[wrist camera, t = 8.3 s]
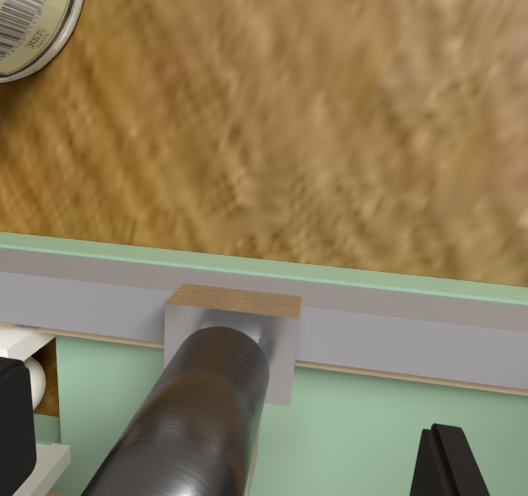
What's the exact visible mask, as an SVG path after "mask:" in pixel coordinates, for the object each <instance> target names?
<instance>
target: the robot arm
mask: <svg viewBox="0 0 528 496" xmlns="http://www.w3.org/2000/svg"><path fill="white" fill-rule="evenodd" d="M36 462H37V452H36V440H35V427H34V415H33V402H32V390H31V377H30V370H29V369H28V368H27V367H25V364H24V362H23V361H22V360H19V359H12V358H6V357H0V496H13V495H14V493H15V492H16V491H17V490H18V489H19V488H20V487H21V485H22V484H23V483H24V482H25V481H26V480H27V479H28V477H29V476H30V475H31V474H32V472H33V470H34V468H35V466H36ZM409 496H490V494H489V491H488V489H487V486H486V484H485V482H484V479H483V477H482V474H481V472H480V470H479V467H478V465H477V462H476V460H475V458H474V455H473V453H472V450H471V448H470V446H469V443H468V441H467V438H466V436H465V434H464V431H463V430H462V428H461V427H457V426H450V425H443V424H437V423H434V424H432V426H431V430H430V429H423V430H422V433H421V438H420V443H419V448H418V453H417V458H416V464H415V469H414V474H413V479H412V484H411V489H410V495H409Z"/></svg>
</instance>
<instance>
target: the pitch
mask: <svg viewBox="0 0 528 496" xmlns="http://www.w3.org/2000/svg"><path fill="white" fill-rule="evenodd" d="M183 283H186V284H195V285H204V286H212V287H221V288H230V289H239V290H248V291H257V292H265V293H274V294H283V295H292V296H301V297H302V299H301V310H300V320H299V330H298V340H297V350H296V360H295V370H294V379H293V387H292V395H291V403H290V407H289V406H282V405H275V404H268V403H264V406H263V411H262V416H261V420H260V425H259V437H258V450H257V460H256V465H255V470H254V474H253V479H252V484H251V489H250V494H249V496H409V495H410V489H411V484H412V479H413V474H414V469H415V464H416V458H417V453H418V448H419V443H420V438H421V433H422V430H423V429H430V430H431V426H432V424H434V423H437V424H443V425H450V426H457V427H461V428H462V430H463V431H464V434H465V436H466V438H467V441H468V443H469V446H470V448H471V450H472V453H473V455H474V458H475V460H476V462H477V465H478V467H479V470H480V472H481V474H482V477H483V479H484V482H485V484H486V486H487V489H488V491H489V494H490V496H528V287H519V286H509V285H500V284H490V283H481V282H471V281H462V280H453V279H443V278H434V277H424V276H415V275H405V274H396V273H386V272H377V271H367V270H358V269H349V268H339V267H330V266H320V265H311V264H301V263H292V262H282V261H273V260H263V259H254V258H244V257H235V256H226V255H216V254H207V253H197V252H188V251H178V250H169V249H159V248H150V247H140V246H131V245H122V244H112V243H103V242H93V241H84V240H74V239H65V238H55V237H46V236H36V235H27V234H17V233H8V232H0V357H6V358H12V359H19V360H22V361H24V360H26V359H27V358H28V357H30V356H31V355H32V354H33V353H35V352H36V351H37V350H39V349H40V348H41V347H43V346H44V345H45V344H47V343H48V342H49V341H50V340H52V339H53V338H54V337H56V355H57V373H58V392H59V410H60V417H55V416H48V415H41V414H35V413H33V415H34V427H35V440H36V452H37V462H36V466H35V468H34V470H33V472H32V474H31V475H30V476H29V477H28V479H27V480H26V481H25V482H24V483H23V484H22V485H21V487H20V488H19V489H18V490H17V491H16V492H15V493H14V495H13V496H81V494H82V493H83V491H84V490H85V488H86V487H87V485H88V484H89V482H90V481H91V479H92V478H93V476H94V475H95V473H96V472H97V470H98V469H99V467H100V466H101V464H102V463H103V461H104V460H105V458H106V457H107V455H108V454H109V452H110V451H111V449H112V448H113V446H114V445H115V443H116V442H117V440H118V439H119V437H120V436H121V434H122V433H123V431H124V430H125V428H126V427H127V425H128V424H129V422H130V421H131V419H132V418H133V416H134V415H135V413H136V412H137V410H138V409H139V407H140V406H141V404H142V403H143V401H144V400H145V398H146V397H147V395H148V394H149V392H150V391H151V389H152V388H153V386H154V385H155V383H156V382H157V380H158V379H159V377H160V376H161V374H162V373H163V371H164V336H165V302H166V301H167V300H168V299H169V298H170V297H171V296H172V295H173V294H174V293H175V292H176V291H177V289H178V288H179V287H180V286H181V285H182V284H183Z"/></svg>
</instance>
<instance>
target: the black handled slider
mask: <svg viewBox="0 0 528 496" xmlns="http://www.w3.org/2000/svg"><path fill="white" fill-rule="evenodd" d="M301 299H302V297H301V296H292V295H283V294H274V293H265V292H257V291H248V290H239V289H230V288H221V287H212V286H204V285H195V284H186V283H183V284H182V285H181V286H180V287H179V288H178V289H177V291H176V292H175V293H174V294H173V295H172V296H171V297H170V298H169V299H168V300H167V301H166V302H165V336H164V371H163V373H162V374H161V376H160V377H159V379H158V380H157V382H156V383H155V385H154V386H153V388H152V389H151V391H150V392H149V394H148V395H147V397H146V398H145V400H144V401H143V403H142V404H141V406H140V407H139V409H138V410H137V412H136V413H135V415H134V416H133V418H132V419H131V421H130V422H129V424H128V425H127V427H126V428H125V430H124V431H123V433H122V434H121V436H120V437H119V439H118V440H117V442H116V443H115V445H114V446H113V448H112V449H111V451H110V452H109V454H108V455H107V457H106V458H105V460H104V461H103V463H102V464H101V466H100V467H99V469H98V470H97V472H96V473H95V475H94V476H93V478H92V479H91V481H90V482H89V484H88V485H87V487H86V488H85V490H84V491H83V493H82V494H81V496H249V494H250V489H251V484H252V479H253V474H254V470H255V465H256V460H257V450H258V437H259V425H260V420H261V416H262V411H263V406H264V403H268V404H275V405H282V406H289V407H290V403H291V395H292V387H293V379H294V370H295V360H296V350H297V340H298V330H299V320H300V310H301Z"/></svg>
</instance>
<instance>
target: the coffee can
mask: <svg viewBox="0 0 528 496" xmlns="http://www.w3.org/2000/svg"><path fill="white" fill-rule="evenodd" d="M82 3H83V0H0V83H2V82H9V81H14V80H17V79H20V78H23V77H26V76H28V75H30V74H32V73H34V72H36V71H39V70H40V69H41V68H42V67H43V66H44V65H46V64H47V63H48V62H49V61H50V60H51V59H52V58H53V57H54V56H55V55H56V54H57V53H58V52H59V51H60V50H61V48H62V47H63V46H64V44H65V43H66V42H67V40H68V38H69V37H70V35H71V33H72V31H73V29H74V27H75V25H76V22H77V20H78V17H79V14H80V11H81V7H82Z"/></svg>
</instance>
